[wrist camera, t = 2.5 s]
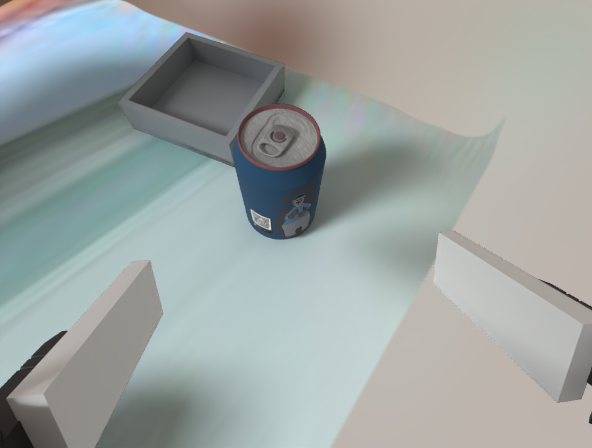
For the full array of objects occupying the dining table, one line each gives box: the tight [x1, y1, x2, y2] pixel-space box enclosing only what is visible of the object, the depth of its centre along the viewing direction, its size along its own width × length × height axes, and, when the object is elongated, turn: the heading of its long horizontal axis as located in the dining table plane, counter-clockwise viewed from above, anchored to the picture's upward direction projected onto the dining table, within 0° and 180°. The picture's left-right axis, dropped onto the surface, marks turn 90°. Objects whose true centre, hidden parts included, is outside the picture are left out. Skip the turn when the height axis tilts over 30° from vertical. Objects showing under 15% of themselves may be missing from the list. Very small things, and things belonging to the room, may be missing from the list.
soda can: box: [232, 104, 326, 239], centre depth 26 cm, size 7×7×12 cm
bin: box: [117, 32, 284, 167], centre depth 35 cm, size 14×14×4 cm
